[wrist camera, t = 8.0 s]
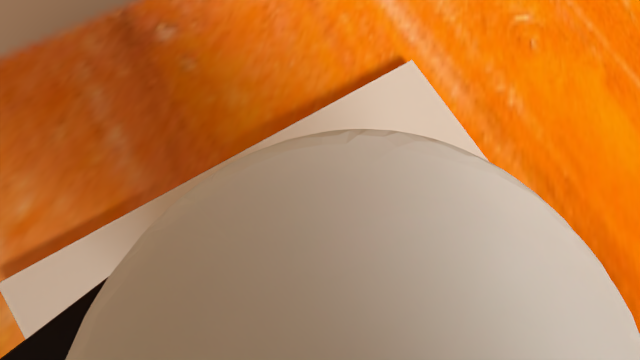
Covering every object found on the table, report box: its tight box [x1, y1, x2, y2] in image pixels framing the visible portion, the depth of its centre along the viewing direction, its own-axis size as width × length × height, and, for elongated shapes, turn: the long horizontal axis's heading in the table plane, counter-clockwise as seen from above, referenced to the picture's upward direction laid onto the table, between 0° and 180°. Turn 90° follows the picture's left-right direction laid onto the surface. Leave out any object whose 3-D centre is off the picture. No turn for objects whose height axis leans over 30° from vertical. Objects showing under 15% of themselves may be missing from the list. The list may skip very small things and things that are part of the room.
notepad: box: [0, 60, 489, 339], centre depth 17 cm, size 22×14×1 cm, turn 123°
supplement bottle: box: [65, 129, 640, 360], centre depth 9 cm, size 7×7×13 cm
